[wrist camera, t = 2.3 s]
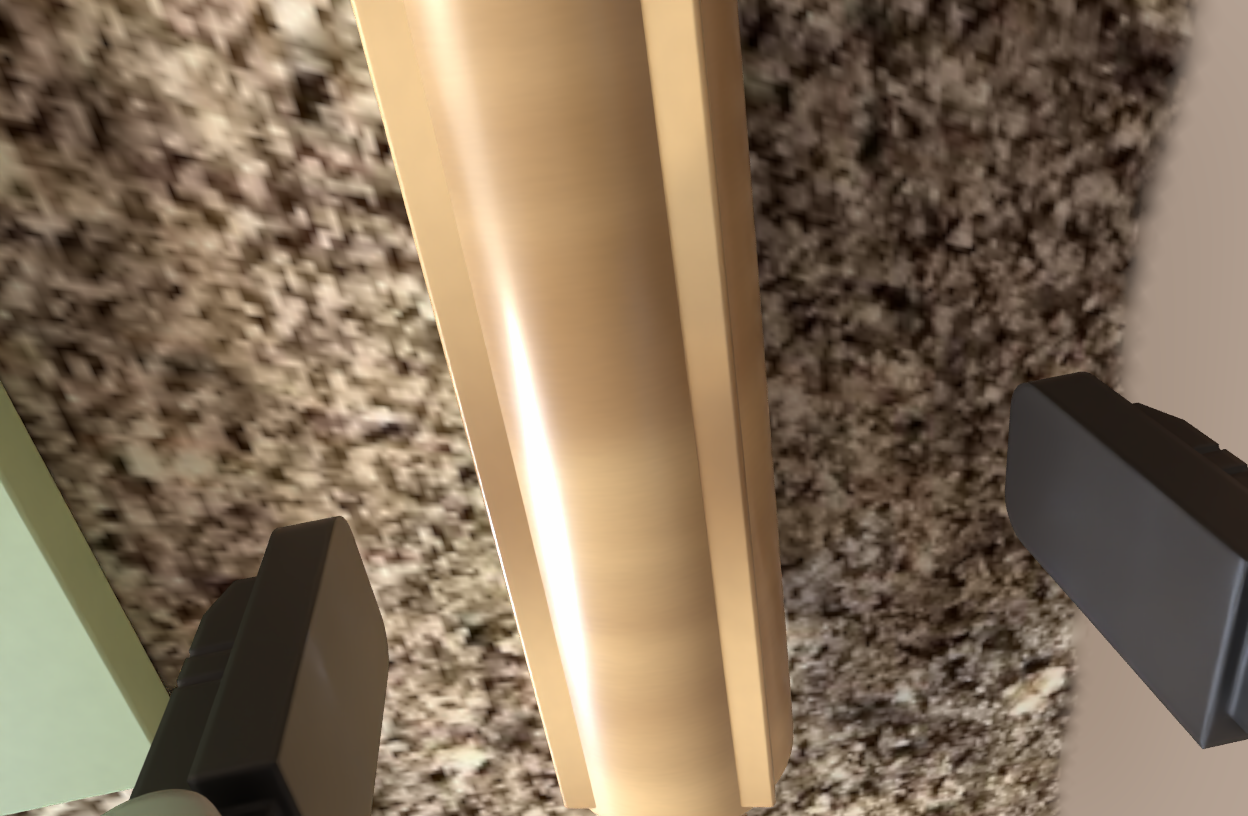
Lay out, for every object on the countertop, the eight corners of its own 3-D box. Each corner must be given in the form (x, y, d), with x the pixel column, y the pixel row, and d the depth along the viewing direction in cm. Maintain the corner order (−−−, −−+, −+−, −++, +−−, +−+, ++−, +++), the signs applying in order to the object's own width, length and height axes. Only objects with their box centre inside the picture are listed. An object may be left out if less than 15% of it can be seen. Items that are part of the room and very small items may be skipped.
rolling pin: (231, -869, 10) (-107, -1377, 6) (660, -1006, 9) (605, -1692, 5) (616, 825, 23) (593, 1019, 19) (801, 824, 23) (815, 1026, 19)
